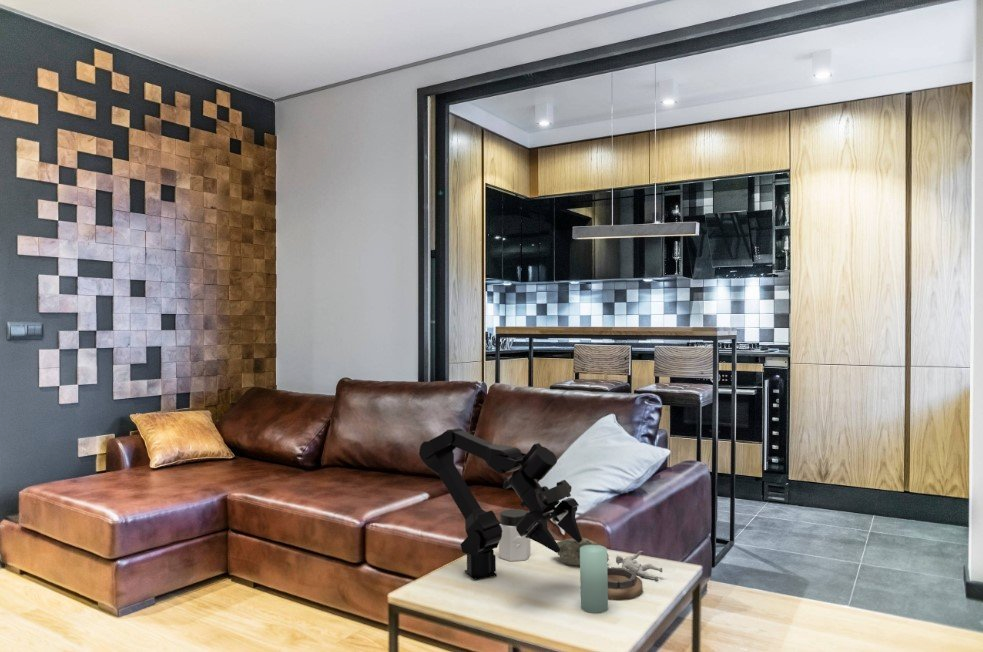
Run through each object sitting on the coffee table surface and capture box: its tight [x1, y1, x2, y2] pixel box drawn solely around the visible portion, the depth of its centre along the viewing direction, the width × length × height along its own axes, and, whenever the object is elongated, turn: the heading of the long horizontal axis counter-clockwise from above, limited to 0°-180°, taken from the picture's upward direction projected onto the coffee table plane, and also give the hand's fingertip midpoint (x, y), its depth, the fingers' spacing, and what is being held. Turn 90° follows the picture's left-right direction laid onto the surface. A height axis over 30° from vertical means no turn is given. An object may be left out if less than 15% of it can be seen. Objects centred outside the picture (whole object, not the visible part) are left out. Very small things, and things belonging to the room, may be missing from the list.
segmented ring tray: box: [607, 566, 643, 601], centre depth 158 cm, size 13×13×4 cm
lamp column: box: [579, 544, 609, 614], centre depth 148 cm, size 6×6×13 cm
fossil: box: [556, 537, 610, 566], centre depth 177 cm, size 14×10×10 cm
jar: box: [498, 508, 532, 562], centre depth 183 cm, size 9×8×12 cm
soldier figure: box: [615, 550, 663, 581], centre depth 168 cm, size 8×5×12 cm
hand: (570, 546), depth 152 cm, fingers open, 9 cm apart
